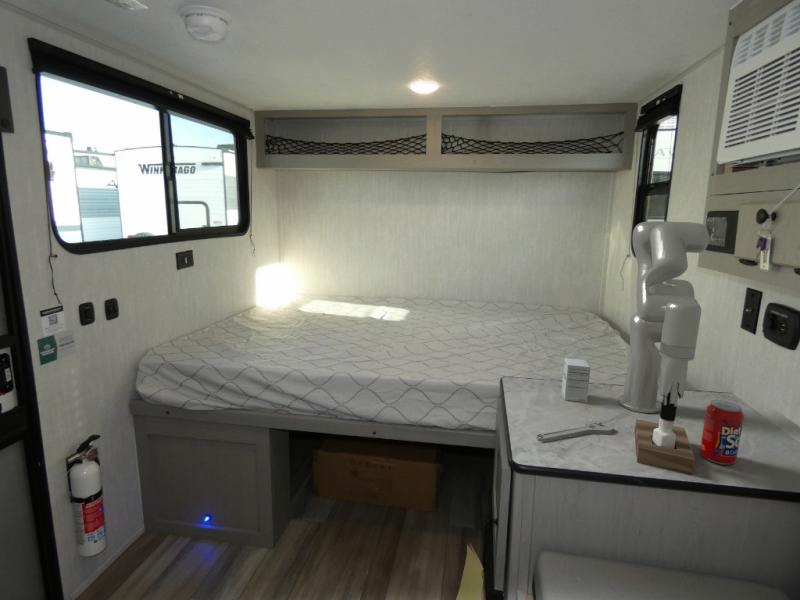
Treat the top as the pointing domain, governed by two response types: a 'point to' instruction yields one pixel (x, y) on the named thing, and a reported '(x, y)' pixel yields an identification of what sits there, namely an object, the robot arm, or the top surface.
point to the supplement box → (575, 379)
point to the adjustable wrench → (576, 431)
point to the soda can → (722, 432)
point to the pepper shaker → (664, 434)
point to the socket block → (663, 449)
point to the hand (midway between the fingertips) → (667, 418)
